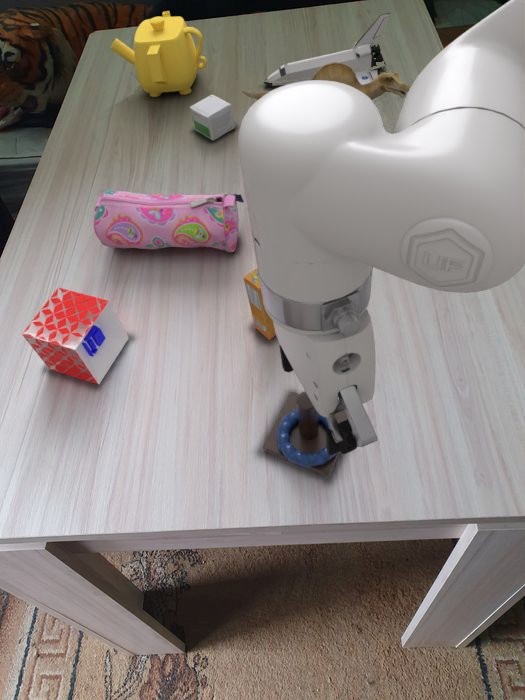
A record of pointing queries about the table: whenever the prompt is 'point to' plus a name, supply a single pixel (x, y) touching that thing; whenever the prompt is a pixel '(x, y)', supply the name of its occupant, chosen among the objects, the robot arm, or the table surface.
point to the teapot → (164, 54)
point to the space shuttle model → (338, 59)
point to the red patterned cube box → (77, 335)
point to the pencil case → (167, 220)
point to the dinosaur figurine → (354, 81)
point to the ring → (290, 451)
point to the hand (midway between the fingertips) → (319, 403)
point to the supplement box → (258, 305)
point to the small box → (212, 117)
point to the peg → (304, 431)
